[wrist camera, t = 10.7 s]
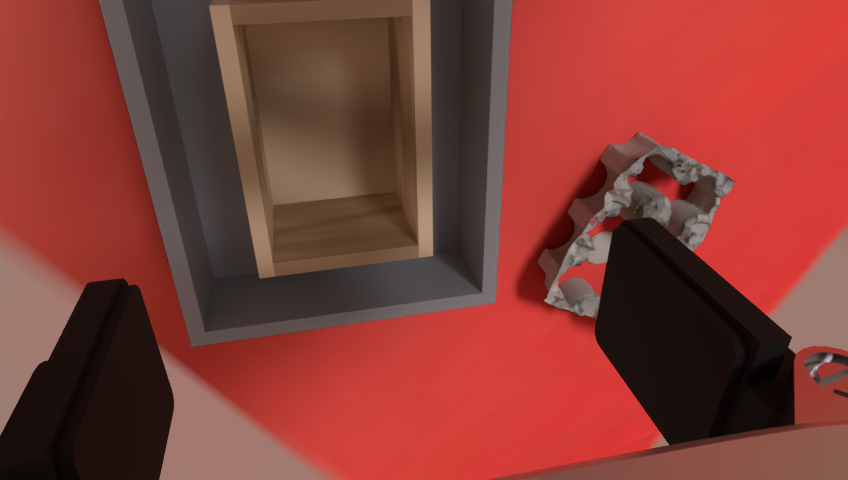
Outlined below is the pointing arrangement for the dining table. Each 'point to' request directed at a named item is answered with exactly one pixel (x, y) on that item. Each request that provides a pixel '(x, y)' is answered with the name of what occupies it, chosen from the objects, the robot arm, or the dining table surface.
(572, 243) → the egg carton
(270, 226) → the pine crate
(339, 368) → the dining table surface
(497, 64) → the grey tote
